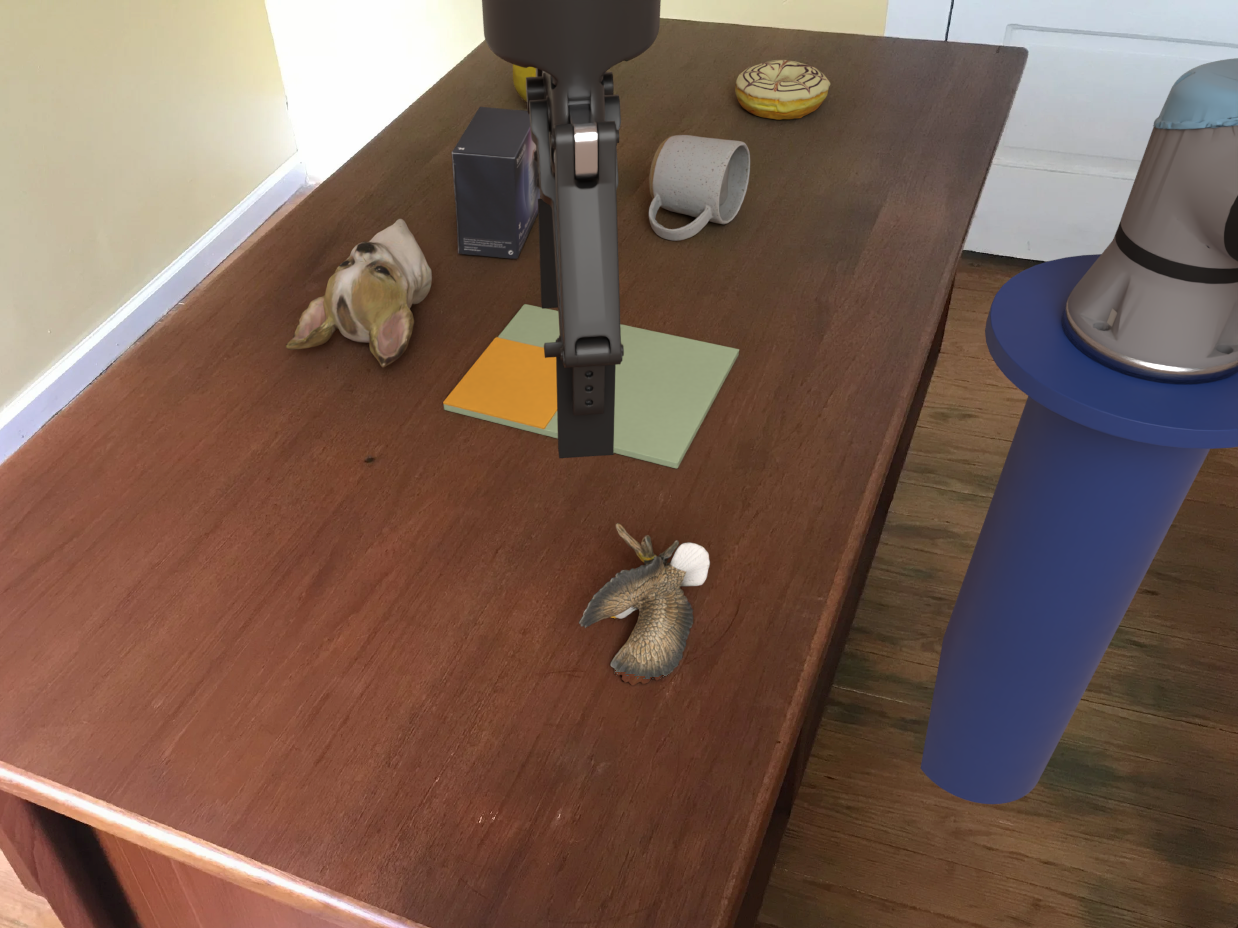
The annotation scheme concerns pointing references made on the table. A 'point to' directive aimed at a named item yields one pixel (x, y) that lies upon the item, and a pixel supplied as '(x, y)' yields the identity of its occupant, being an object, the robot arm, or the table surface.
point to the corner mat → (644, 385)
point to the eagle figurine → (651, 605)
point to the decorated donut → (781, 89)
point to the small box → (495, 183)
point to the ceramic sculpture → (371, 296)
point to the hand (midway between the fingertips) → (574, 372)
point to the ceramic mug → (698, 182)
